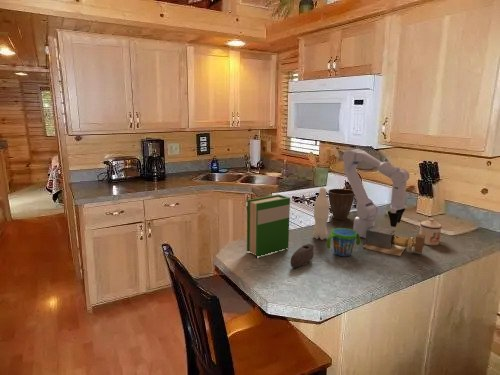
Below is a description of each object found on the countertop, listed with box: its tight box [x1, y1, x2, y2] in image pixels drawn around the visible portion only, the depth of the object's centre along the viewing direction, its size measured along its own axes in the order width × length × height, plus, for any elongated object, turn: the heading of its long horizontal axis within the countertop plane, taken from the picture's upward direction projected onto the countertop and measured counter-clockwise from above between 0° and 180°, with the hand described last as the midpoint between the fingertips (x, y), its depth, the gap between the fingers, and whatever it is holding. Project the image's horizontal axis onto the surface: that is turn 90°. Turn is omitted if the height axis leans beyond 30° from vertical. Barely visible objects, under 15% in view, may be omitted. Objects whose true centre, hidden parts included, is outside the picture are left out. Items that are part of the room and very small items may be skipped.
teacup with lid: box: [419, 218, 443, 246], centre depth 164 cm, size 12×9×12 cm
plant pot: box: [327, 188, 355, 221], centre depth 199 cm, size 15×15×16 cm
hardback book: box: [246, 194, 291, 257], centre depth 150 cm, size 18×7×24 cm, turn 126°
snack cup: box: [326, 227, 361, 257], centre depth 150 cm, size 16×10×10 cm
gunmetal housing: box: [364, 225, 396, 250], centre depth 159 cm, size 11×7×7 cm, turn 55°
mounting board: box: [362, 244, 406, 257], centre depth 159 cm, size 16×14×1 cm
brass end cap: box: [391, 233, 425, 254], centre depth 153 cm, size 15×6×8 cm, turn 55°
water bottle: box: [312, 187, 330, 241], centre depth 167 cm, size 7×7×25 cm
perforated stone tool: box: [290, 243, 315, 269], centre depth 140 cm, size 15×5×7 cm, turn 138°
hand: (395, 224), depth 161 cm, fingers open, 7 cm apart
